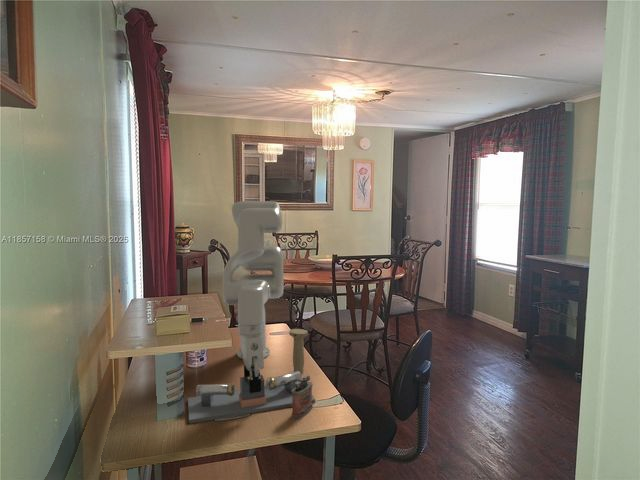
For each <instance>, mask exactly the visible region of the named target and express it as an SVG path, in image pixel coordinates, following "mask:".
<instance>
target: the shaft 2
mask: <svg viewBox="0 0 640 480" xmlns="http://www.w3.org/2000/svg"><path fill="white" fill-rule="evenodd" d="M299 378H301V379H302V378H303V377H302V374H301V373H300V372H299V371H296V372H294V371H293V372H289V373H285V374H282V375H279V376H278V375H277V376H274V377H273V376H271V377H268V378H266V380H265V385H266V386H267V388H268V389H269V390H273V389H275V388H276V387H280V386H283V385H284V389H285V390H286V391H288V392H289V393H290V394H292V390H293V389H294V388H295V383H296V382H297V381H298V379H299Z"/></svg>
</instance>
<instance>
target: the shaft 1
mask: <svg viewBox="0 0 640 480" xmlns="http://www.w3.org/2000/svg"><path fill="white" fill-rule="evenodd" d="M235 391H236V383H234V382H229V383H221V384H220V383H219V384H196V386H195V397H198V396H201V407H210V406H211V404H212V402H213V395H228V396H233V395H234V394H235Z"/></svg>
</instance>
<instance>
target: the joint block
mask: <svg viewBox="0 0 640 480" xmlns="http://www.w3.org/2000/svg"><path fill="white" fill-rule="evenodd" d="M260 376H261V391H260V392H255V393H250V392H249V379H250V376H248V377H244V376H242V377H239V383H240V384H239V386H240V387H239V389H240V394H241V398H242V400H245V399H252V398H259V397H265V393H264V387H265V379H264V376H263V375H262V374H260Z"/></svg>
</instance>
